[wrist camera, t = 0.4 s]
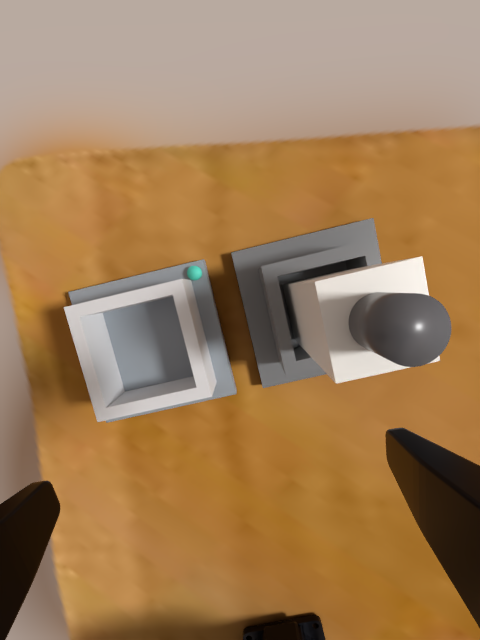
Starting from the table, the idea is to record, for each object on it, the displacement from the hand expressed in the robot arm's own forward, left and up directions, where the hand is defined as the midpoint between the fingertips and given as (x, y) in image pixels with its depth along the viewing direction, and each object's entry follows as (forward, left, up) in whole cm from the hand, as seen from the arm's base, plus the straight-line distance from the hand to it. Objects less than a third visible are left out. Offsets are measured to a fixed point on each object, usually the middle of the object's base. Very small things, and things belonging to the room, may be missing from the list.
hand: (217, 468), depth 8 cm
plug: (+2, -6, -14) cm, 15 cm away
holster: (+2, -6, -15) cm, 16 cm away
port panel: (+2, +6, -15) cm, 16 cm away
